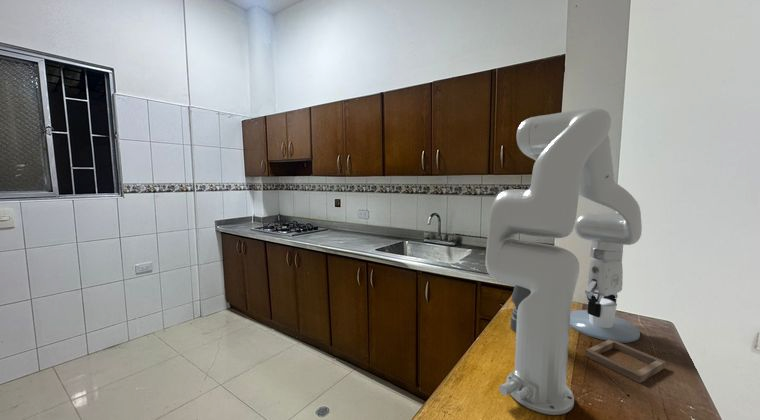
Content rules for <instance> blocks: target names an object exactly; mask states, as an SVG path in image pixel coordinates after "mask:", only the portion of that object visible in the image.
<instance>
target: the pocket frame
mask: <svg viewBox="0 0 760 420" xmlns="http://www.w3.org/2000/svg"><path fill="white" fill-rule="evenodd" d="M612 349H615V350H617V351H619V352H622V353H624V354H626V355H628V356H630V357H633V358H635V359H638V360H639V361H642V362H644V363H647V365H645V366H644V367H642V368H640V369H638V370H634V369H632V368H630V367H628V366H625V365H624V364H622V363H619V362H617V361H615V360H614V359H611V358H609V357H607V356H605V355H603V353H605V352H607V351H610V350H612ZM584 352H585V353H584V355H585V356H584V357H586V358H588V359H590V360H591V361H592V360H593V361H595V362H596V363H599V364H600V365H603V366H604V367H606V368H608V369H611V370H612V371H615V372H616V373H618V374H621V375H622V376H624V377H626V378H629V379H630V380H633V381H634V382H637V383H638V384H642V383H643V382H644V381H646V380H648V379H650V378H651V377H652V376H654V375H656V374H658V373H659V372H661V371H662V370H664V369H666V361H664V360H662V359H660V358H658V357H655V356H653V355H650V354H649V353H646V352H643V351H641V350H638V349H636V348H634V347H631V346H629V345H627V344H624V343H620V342H618V341H615V340H613V339H609V340H607V341H605V340H604V341H602V342H600V343H598V344H596V345H594V346H592V347H589V348H587V349H585V351H584Z"/></svg>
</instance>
